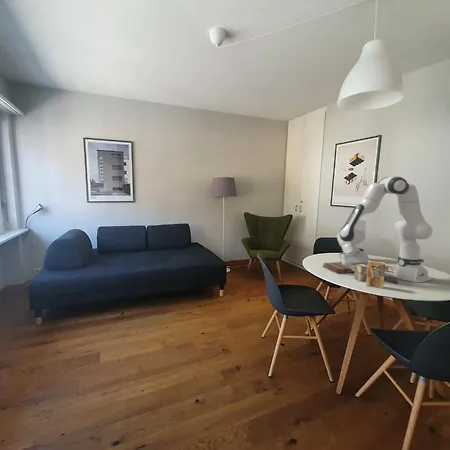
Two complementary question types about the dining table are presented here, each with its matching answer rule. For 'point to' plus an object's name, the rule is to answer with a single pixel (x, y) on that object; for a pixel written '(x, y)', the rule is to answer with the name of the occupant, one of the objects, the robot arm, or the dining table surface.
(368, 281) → the candy box
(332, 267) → the walnut plinth
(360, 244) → the display case
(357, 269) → the birch block
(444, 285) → the dining table surface
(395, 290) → the dining table surface
